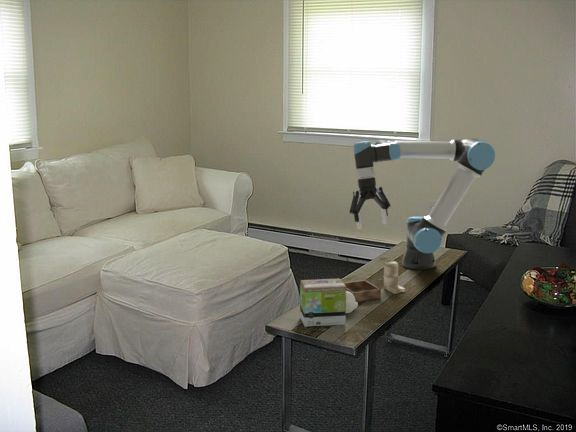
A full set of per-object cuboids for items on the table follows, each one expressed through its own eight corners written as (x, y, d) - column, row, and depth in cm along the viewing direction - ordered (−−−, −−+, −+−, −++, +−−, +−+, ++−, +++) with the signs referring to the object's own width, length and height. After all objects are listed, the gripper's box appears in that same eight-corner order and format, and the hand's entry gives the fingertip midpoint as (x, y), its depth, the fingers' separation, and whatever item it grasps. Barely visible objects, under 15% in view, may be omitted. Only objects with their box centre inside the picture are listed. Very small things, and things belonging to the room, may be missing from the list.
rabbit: (330, 316, 242) (330, 285, 240) (322, 308, 251) (322, 278, 248) (361, 312, 246) (361, 282, 243) (351, 304, 254) (351, 274, 252)
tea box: (304, 328, 231) (304, 288, 228) (299, 318, 241) (299, 279, 238) (346, 325, 234) (346, 285, 230) (339, 315, 243) (340, 277, 240)
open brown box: (365, 289, 272) (365, 280, 271) (380, 298, 260) (380, 289, 260) (338, 292, 268) (338, 283, 267) (353, 302, 256) (353, 293, 255)
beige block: (393, 286, 275) (394, 261, 273) (404, 291, 268) (405, 266, 266) (383, 288, 273) (384, 262, 271) (394, 293, 266) (395, 267, 264)
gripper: (384, 174, 291) (390, 221, 293) (337, 182, 280) (343, 231, 281) (394, 173, 285) (400, 222, 286) (347, 181, 273) (353, 231, 274)
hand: (372, 226), depth 284 cm, fingers open, 13 cm apart
